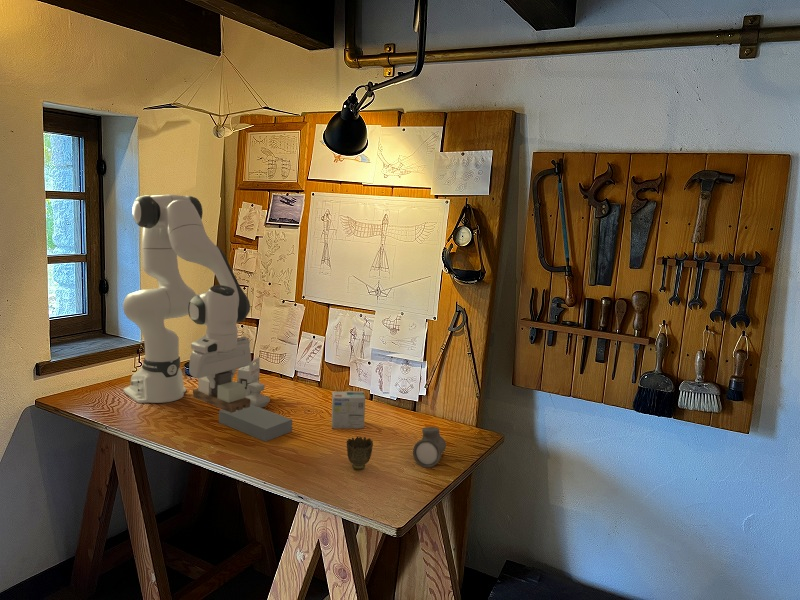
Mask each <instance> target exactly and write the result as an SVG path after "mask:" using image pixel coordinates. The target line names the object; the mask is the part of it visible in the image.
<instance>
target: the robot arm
mask: <svg viewBox="0 0 800 600" xmlns="http://www.w3.org/2000/svg"><path fill="white" fill-rule="evenodd" d="M132 217H133V220H134V222H135V224H137V226H139V227H140V228H142V235H141V248H142V249H141V251H142V252H141V253H142V268H143V271H144V272H145V274H147V275H148V276H150V277H152V278H154V279H156V281H157V283H158V287H157V288H156V287H155V288H145V289H140V290H137V291H133V292H131V293H128V294H127V295H126V296H125V297H124V299H123V304H122V310H123V313H124V315H125V317H126V318H127V319H128V320H129V321H131V322H132V323H133V324H135V325H136V326H137V327H138V328H139V330H140V331H141V333H142V336H143V343H144V357H142V358H140V359H141V362H142V365H141V368H139V370H137V371H136V372H134V373H133V374H132V375H131V376H130V377H131V378H130V385H129V386H126V387H124V388H123V393H125V394H126V395H128V396H129V397H130V398H131V399H132V400H134V401H135V402H136V403H138V404H139V403H140V404H143V403H144V404H146V403H152V404H153V403H154V404H155V403H157V404H159V403H161V404H162V403H172V402H174V401H177V400H180V399H182V398H183V397H184V395H185V393H186V391H187V388H186V387H185V386H184V377H183V370H182V369H181V357H180V352H179V349H180V345H179V343H180V342H179V341H180V340H179V336H178V334H177V333H176V332H174V331H173V330H171V329H169V328H167V327H166V326H165V320H168V319H169V320H171V319H175V318H176V319H177V318H178V319H179V318H183V317H186V316H189V318H190V319H191V320H192V321H193V323H195V324H196V325H200V326H201V325H202V326H206V331H205V332H206V333H205V334H204V335H203V336H201V337H200V338H198V339H196V340H194V341H192V342H191V344H190V349H191V350H193V351H192V352H191V353H190V355H189V366H188V367H189V368H188V369H189V370H188V371H189V374H190V376H191V377H193V378H196V379H198V378H202V377H206V376H207V378H208V380H209V382H210V387H211V388H217V387H218V382H215V380H214V378H215V374H218V373H222V372H226V371H229V372H231V382H232V381H233V378H234V376H235V374H237V370H238V369H239V368H242V367H246V366H249V365H250V363H251V362H252V355H251V354H252V353H251V347H250V346H251V345H250V342H251V341H250V339H249V338H248V337H247V336H242V337H238V327H237V324H239V323H242V322H243V321H245V319H246V318H247V316H248V315H249V313H250V310H251V303H250V300H249V298H248V296H247V294H246V293H245V292H244V290H243V289H242V287H241V286H240V283H239V282H238V279H237V277H236V275H235V273H234V271H233V269H232V267H231V265H230V263H229V261H228V260H227V257H226V255H225V253H224V252H223V250H222V249H221V247H219V246H217V245H216V244H215V243H214V242H213V241H212V240H211V239H210V237H209V235H207V232H206V229H205V226H204V224H203V221H202V219H203V205H202V204H201V201H199V199H198V198H197V197H194V196H191V195H178V194H160V195H158V194H155V195H149V194H146V195H141V196H138V197H136V198H135V199H134V201H133V204H132ZM178 257H179V258H181V259H182V260H183V261H187V262H190V263H194V264H197V265H201V266H203V267H205V268H207V269H209V270H210V271H212V272H213V274H214V275H215V277H216V280H217V282H218V283H219V285H218V284H217V285H212V286H211V287H209V288H208V290H207V291H205V292H201V293H198V294H197V293H196V292H195V291H194V289H192V288H191V287H190V286H188V285H187V283H185V281H184V280H183V278H182V276H181V273H180V270H179V263H178Z"/></svg>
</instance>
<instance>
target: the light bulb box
mask: <svg viewBox="0 0 800 600" xmlns="http://www.w3.org/2000/svg"><path fill="white" fill-rule="evenodd" d="M364 393H365V392H364V391H363V390H358V391H354V390H353V391H349V390H348V391H334V390H333V391H332V395H331V399H332V400H331V428H332V430H333V429H364V428H365V419H366V418H365V417H366V416H365V415H366V414H365V413H366V395H365V394H364Z"/></svg>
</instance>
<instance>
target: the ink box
mask: <svg viewBox="0 0 800 600" xmlns="http://www.w3.org/2000/svg"><path fill="white" fill-rule="evenodd" d="M260 362H261V361H260V356H258V357H256V358H255V359H253V360H251V363H250V365H249V366H246V367H242V368H238V369H236V375H237V376H236V382H238V383H241V384H243V385H245V397H246V396H249V395H252V394H253V392H252V391H250V390H249V388H248V384H251V383H254V382H258V383H260V365H261V364H260Z"/></svg>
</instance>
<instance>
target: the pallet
mask: <svg viewBox="0 0 800 600" xmlns="http://www.w3.org/2000/svg"><path fill="white" fill-rule="evenodd" d="M214 380H215V382H218V385H221V384H225V383H229V382H231V372H229V371H226V372H222V373H218V374H215V378H214ZM217 395H218V387H217V388H212V390H211V395H207V394H205V393H202V392H200V391H198V387H197V388H194V389H192V398H194V399H197V400H199V401H201V402H204V403H206V404H208V405H211V406H214V407H216V408H218V409H220V410H222V409H223V410H226V411H228V412H231V413H233V412H236V410H242V409H243V407H244V408H248V407H250V399H248V398H246V397H245V398H243V399H239V400H236V401H233V402H230V403H228V402H225V401H223V400H220V399H218V398H217Z"/></svg>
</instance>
